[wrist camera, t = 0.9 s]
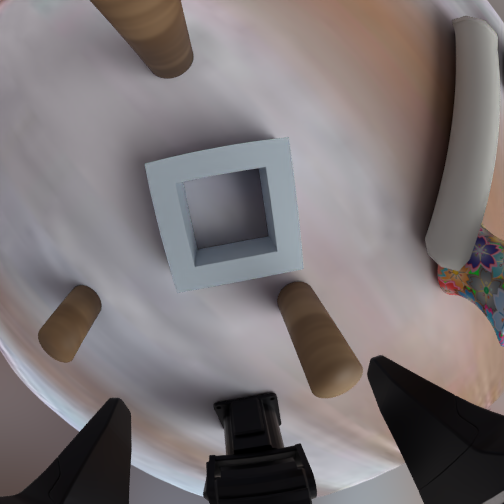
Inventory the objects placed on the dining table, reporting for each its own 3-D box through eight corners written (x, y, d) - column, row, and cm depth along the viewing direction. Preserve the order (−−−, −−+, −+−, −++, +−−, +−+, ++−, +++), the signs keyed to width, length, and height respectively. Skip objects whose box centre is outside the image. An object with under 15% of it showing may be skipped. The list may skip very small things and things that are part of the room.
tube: (470, 278, 19) (504, 48, 10) (455, 281, 16) (488, 16, 8) (429, 255, 23) (464, 44, 15) (406, 253, 20) (443, 15, 12)
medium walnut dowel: (314, 309, 22) (359, 388, 13) (279, 317, 22) (311, 403, 13) (312, 278, 21) (365, 353, 12) (275, 286, 20) (310, 370, 12)
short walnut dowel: (106, 314, 20) (81, 362, 14) (79, 318, 19) (51, 362, 14) (93, 282, 19) (60, 326, 13) (66, 287, 18) (31, 328, 13)
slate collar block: (291, 252, 20) (303, 269, 17) (182, 272, 19) (177, 292, 16) (277, 139, 17) (288, 137, 14) (156, 161, 16) (144, 163, 13)
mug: (416, 285, 23) (488, 347, 13) (452, 197, 20) (540, 231, 10) (468, 301, 25) (521, 346, 15) (497, 234, 22) (558, 268, 13)
